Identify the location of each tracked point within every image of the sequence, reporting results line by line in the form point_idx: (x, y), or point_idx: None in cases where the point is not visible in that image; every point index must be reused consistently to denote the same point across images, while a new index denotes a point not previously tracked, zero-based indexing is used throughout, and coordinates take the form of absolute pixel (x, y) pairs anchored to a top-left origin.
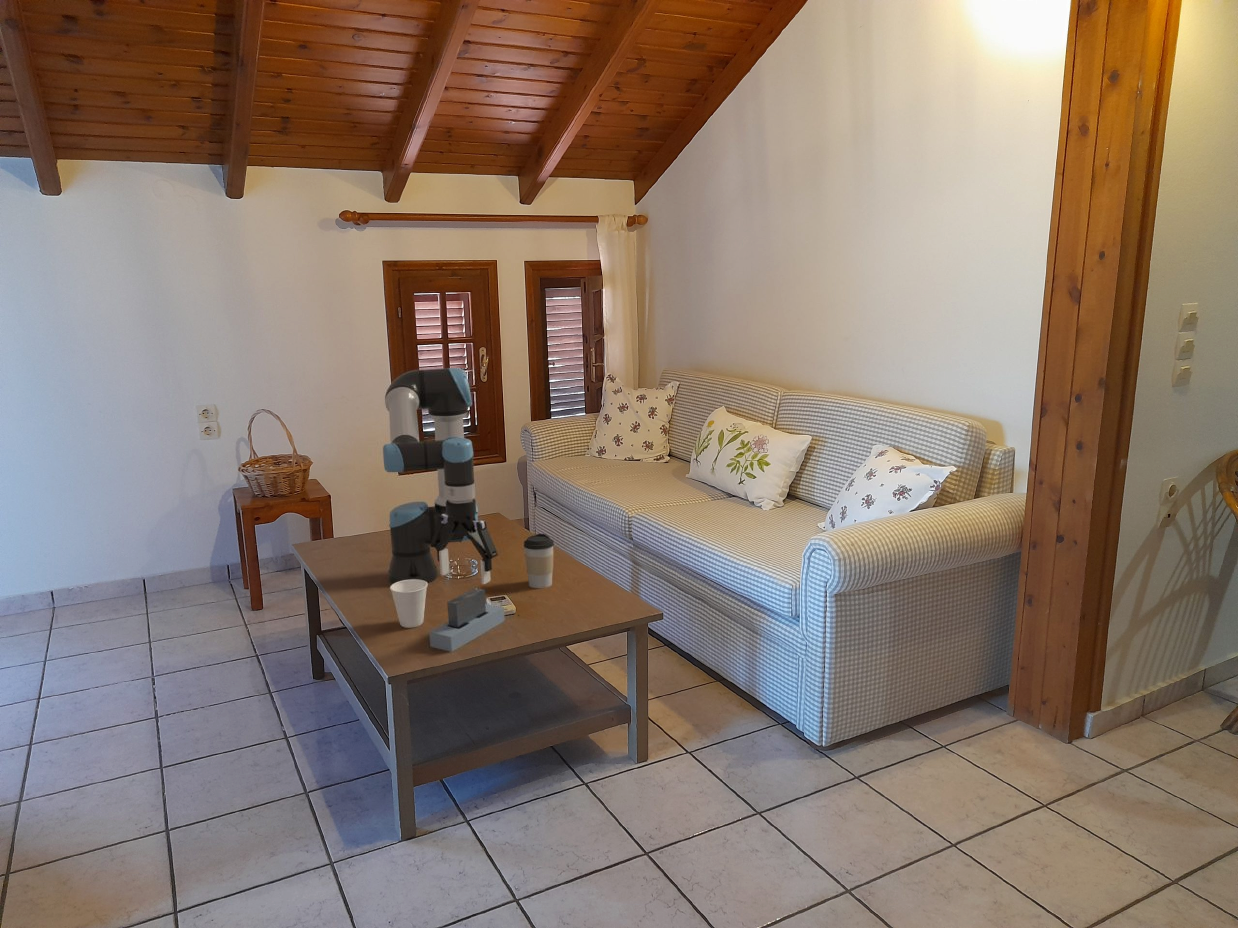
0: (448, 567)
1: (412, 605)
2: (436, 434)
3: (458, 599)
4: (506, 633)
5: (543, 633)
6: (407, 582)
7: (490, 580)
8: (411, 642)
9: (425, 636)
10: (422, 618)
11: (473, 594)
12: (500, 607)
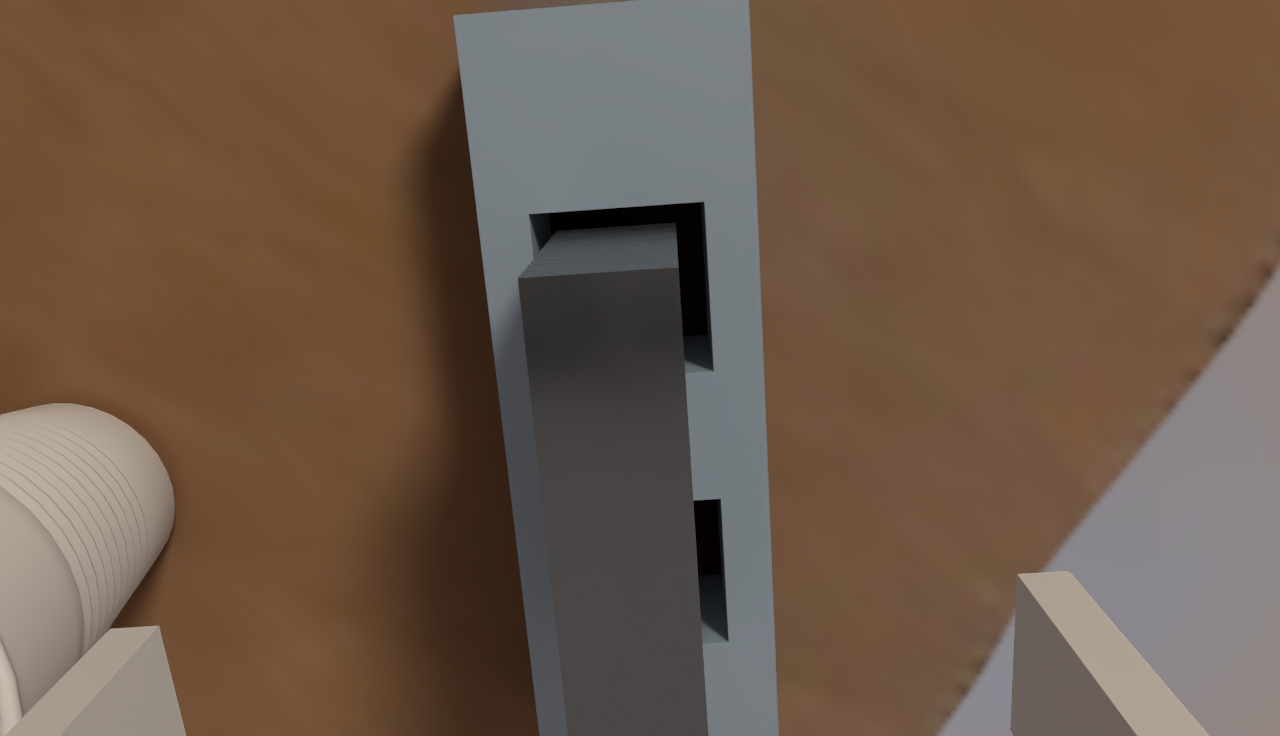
0: (111, 693)
1: None
2: None
3: (628, 684)
4: (934, 229)
5: (1257, 45)
6: None
7: (1071, 575)
8: (385, 725)
9: (384, 605)
10: (148, 481)
11: (672, 477)
12: (718, 20)
